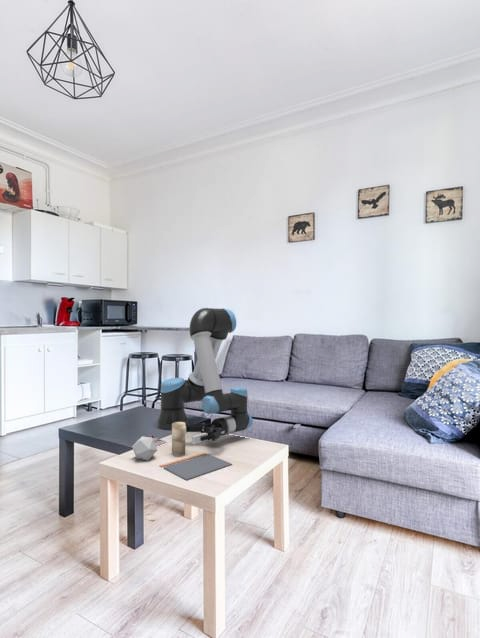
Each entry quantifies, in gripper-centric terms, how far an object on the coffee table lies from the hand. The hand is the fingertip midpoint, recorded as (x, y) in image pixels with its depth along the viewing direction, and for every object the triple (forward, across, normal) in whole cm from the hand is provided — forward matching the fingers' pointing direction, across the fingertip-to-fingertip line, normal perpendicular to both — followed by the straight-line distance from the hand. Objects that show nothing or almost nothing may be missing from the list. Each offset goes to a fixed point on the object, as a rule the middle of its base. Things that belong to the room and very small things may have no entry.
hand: (182, 436), depth 145 cm
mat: (+3, -15, -7) cm, 16 cm away
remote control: (+2, +20, -8) cm, 22 cm away
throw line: (+3, -6, -7) cm, 9 cm away
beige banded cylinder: (+1, +1, -7) cm, 7 cm away
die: (+13, +6, -7) cm, 16 cm away
